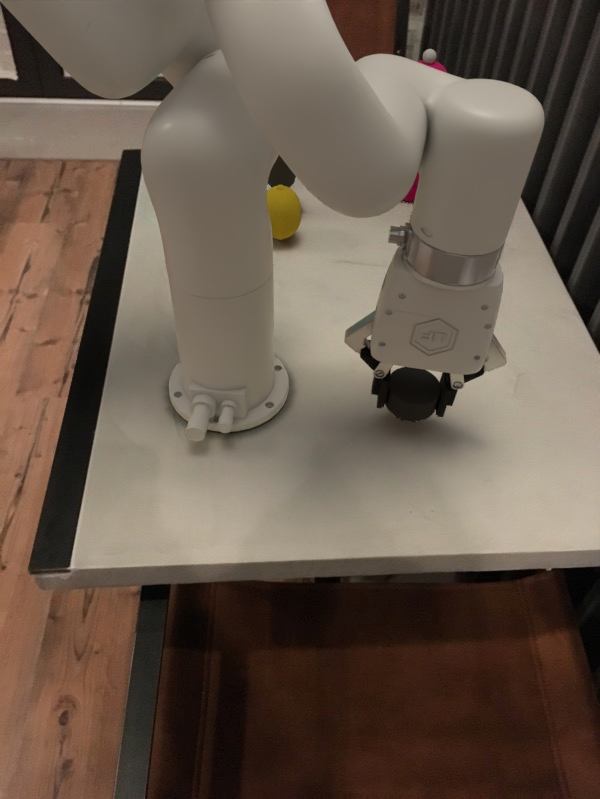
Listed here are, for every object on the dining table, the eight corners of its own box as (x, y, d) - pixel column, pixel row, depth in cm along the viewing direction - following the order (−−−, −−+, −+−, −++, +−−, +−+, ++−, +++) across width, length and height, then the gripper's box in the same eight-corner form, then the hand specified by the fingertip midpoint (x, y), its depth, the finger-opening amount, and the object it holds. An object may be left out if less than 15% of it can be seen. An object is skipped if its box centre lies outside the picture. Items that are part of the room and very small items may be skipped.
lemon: (296, 253, 90) (297, 199, 85) (255, 248, 91) (254, 193, 85) (304, 231, 94) (306, 177, 88) (265, 226, 95) (264, 172, 89)
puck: (434, 429, 66) (441, 408, 64) (381, 421, 67) (386, 400, 64) (434, 391, 70) (441, 370, 68) (384, 383, 70) (389, 362, 68)
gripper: (342, 260, 52) (320, 417, 66) (565, 291, 52) (498, 444, 65) (350, 209, 58) (328, 364, 71) (553, 236, 57) (493, 388, 70)
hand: (410, 401), depth 68 cm, fingers closed on puck, 5 cm apart
